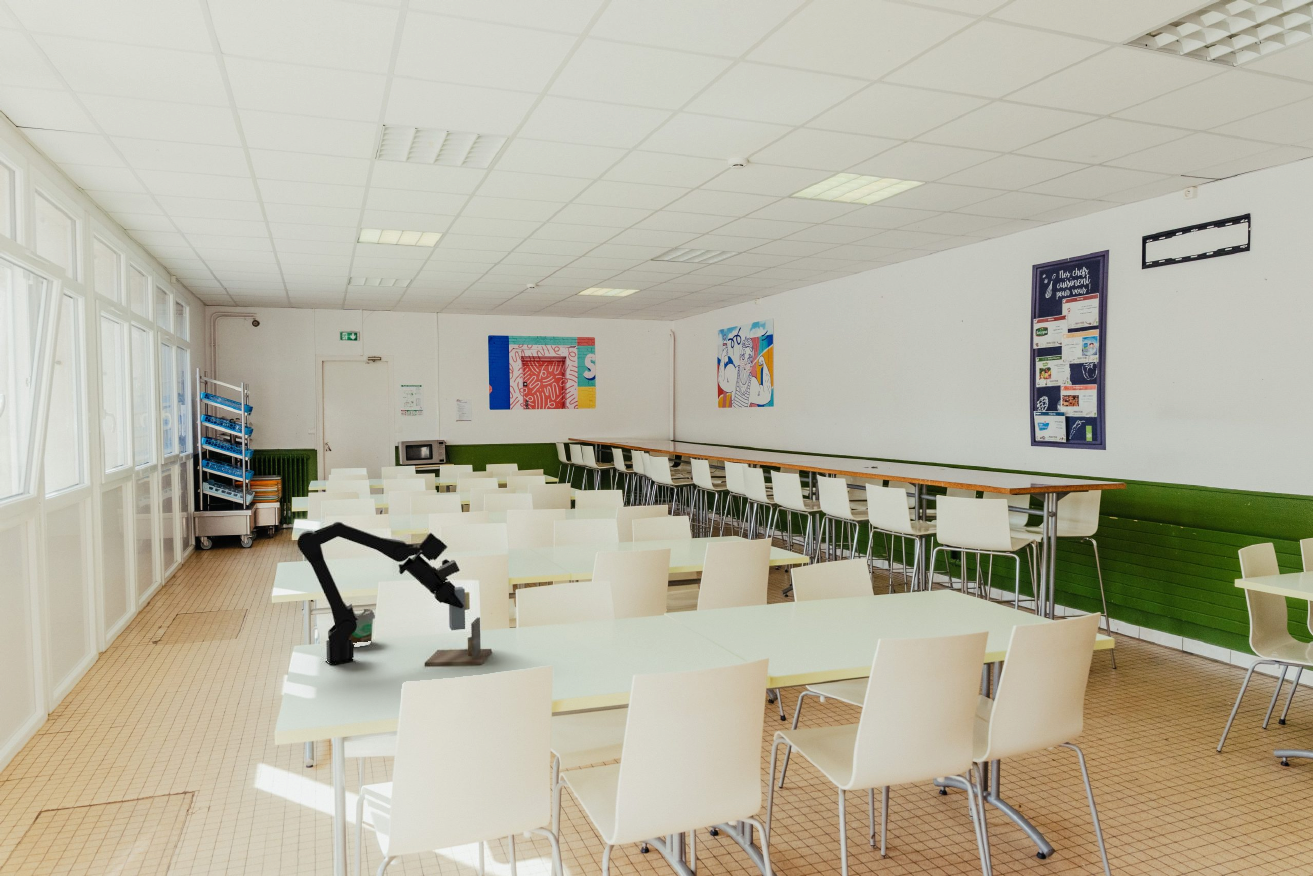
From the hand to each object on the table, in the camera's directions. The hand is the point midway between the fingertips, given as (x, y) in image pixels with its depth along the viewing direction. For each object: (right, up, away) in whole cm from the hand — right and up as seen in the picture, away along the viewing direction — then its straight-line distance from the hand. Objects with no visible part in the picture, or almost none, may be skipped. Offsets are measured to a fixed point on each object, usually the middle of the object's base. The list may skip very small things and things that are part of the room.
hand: (461, 605), depth 250 cm
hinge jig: (+2, -13, -13) cm, 18 cm away
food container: (-32, -14, +7) cm, 36 cm away
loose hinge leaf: (-1, -7, -1) cm, 7 cm away
